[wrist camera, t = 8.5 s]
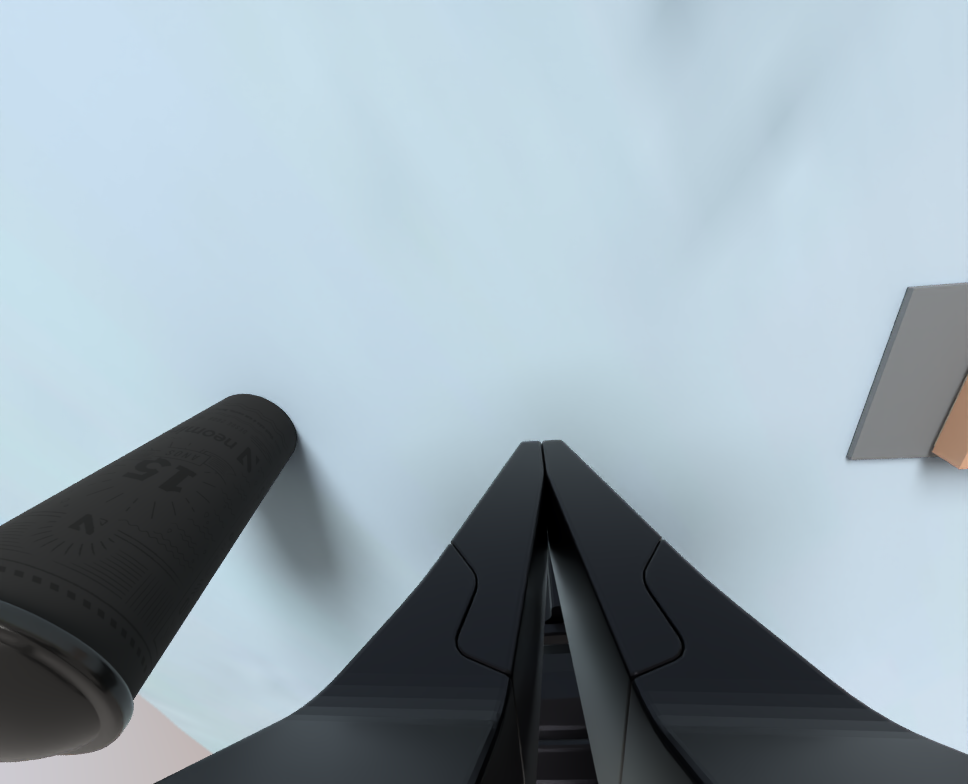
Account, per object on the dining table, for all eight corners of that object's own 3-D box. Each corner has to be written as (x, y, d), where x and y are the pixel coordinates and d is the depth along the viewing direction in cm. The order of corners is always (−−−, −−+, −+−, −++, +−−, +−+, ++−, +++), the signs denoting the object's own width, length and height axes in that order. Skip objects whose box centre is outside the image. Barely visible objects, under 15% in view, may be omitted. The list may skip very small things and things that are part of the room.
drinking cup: (322, 492, 25) (-134, 1211, 8) (200, 469, 25) (-557, 1149, 7) (321, 385, 22) (-527, 1248, 4) (180, 358, 22) (-1343, 1133, 4)
